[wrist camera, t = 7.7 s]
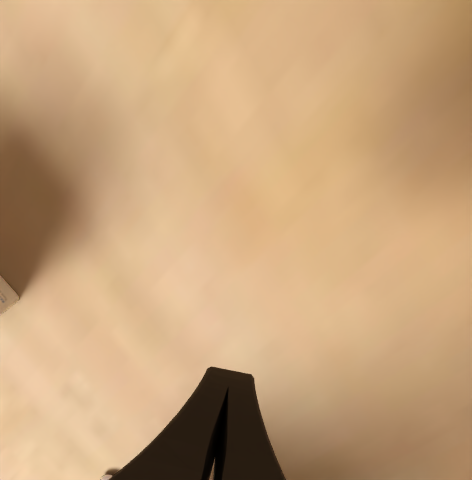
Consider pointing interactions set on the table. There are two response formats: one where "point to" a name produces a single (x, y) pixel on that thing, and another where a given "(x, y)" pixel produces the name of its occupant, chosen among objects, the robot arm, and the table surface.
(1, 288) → the light bulb box
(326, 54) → the table surface
